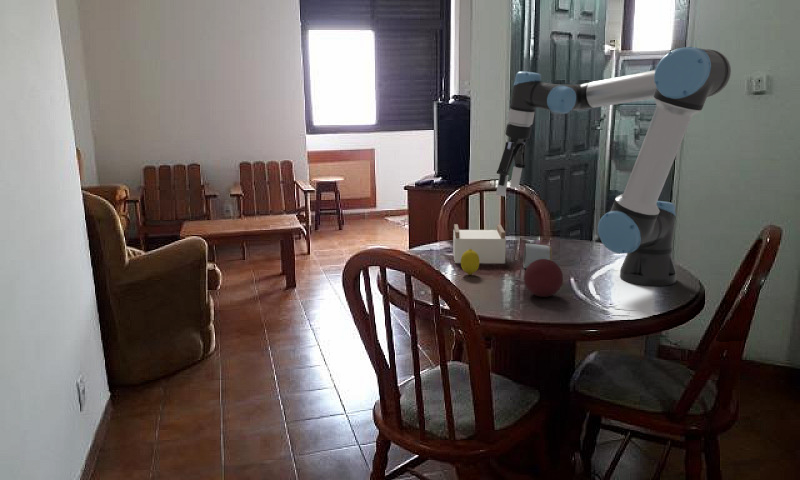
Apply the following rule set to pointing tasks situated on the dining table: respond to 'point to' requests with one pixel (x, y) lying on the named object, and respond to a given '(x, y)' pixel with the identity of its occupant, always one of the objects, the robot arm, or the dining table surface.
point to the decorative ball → (543, 277)
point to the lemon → (470, 261)
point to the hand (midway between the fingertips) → (507, 191)
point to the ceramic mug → (536, 253)
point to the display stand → (480, 244)
